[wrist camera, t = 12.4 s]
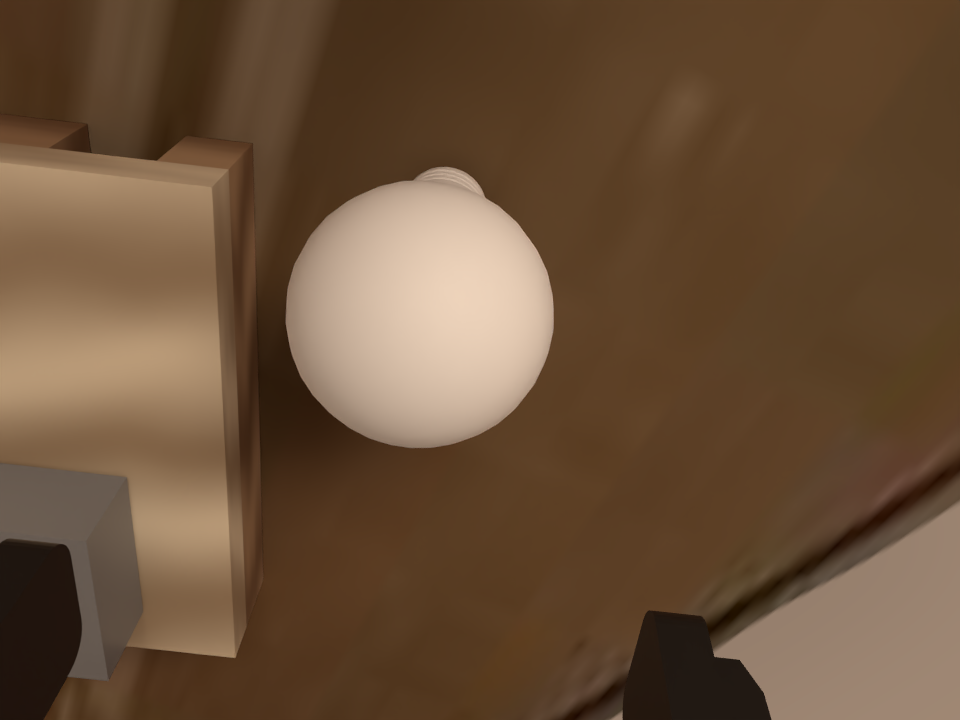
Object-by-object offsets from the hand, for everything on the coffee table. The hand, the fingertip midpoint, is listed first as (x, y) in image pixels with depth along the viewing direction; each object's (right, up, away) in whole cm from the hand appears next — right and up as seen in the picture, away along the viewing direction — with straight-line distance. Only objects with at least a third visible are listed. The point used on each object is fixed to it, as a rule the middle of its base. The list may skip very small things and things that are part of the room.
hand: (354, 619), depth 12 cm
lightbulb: (+1, +9, +15) cm, 17 cm away
